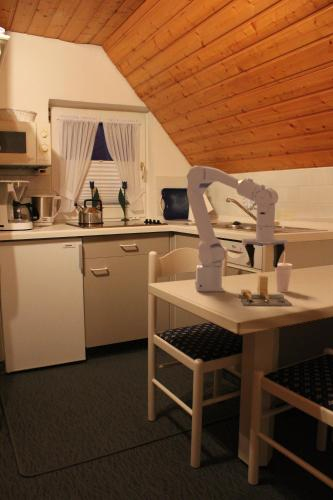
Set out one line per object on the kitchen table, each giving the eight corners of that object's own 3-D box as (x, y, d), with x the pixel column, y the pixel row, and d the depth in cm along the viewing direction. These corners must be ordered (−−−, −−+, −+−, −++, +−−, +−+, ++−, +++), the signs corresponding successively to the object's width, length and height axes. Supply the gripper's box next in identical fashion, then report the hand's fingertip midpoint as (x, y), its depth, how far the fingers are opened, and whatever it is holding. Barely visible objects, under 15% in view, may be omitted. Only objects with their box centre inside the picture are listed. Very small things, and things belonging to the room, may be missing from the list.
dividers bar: (242, 303, 133) (242, 296, 132) (237, 296, 141) (237, 289, 141) (289, 303, 133) (290, 296, 132) (281, 296, 142) (281, 289, 141)
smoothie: (278, 293, 146) (280, 253, 143) (269, 289, 152) (271, 251, 150) (295, 292, 147) (297, 253, 145) (285, 288, 153) (287, 250, 151)
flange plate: (244, 305, 130) (244, 303, 130) (240, 300, 136) (240, 298, 136) (291, 305, 131) (292, 303, 130) (286, 301, 136) (286, 299, 136)
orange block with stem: (263, 301, 133) (264, 281, 132) (256, 294, 142) (257, 275, 141) (271, 301, 133) (272, 281, 132) (264, 294, 142) (265, 275, 141)
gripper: (245, 226, 132) (244, 269, 134) (291, 227, 133) (289, 269, 135) (241, 225, 139) (239, 265, 141) (284, 225, 140) (282, 265, 142)
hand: (263, 267), depth 138 cm, fingers open, 7 cm apart
